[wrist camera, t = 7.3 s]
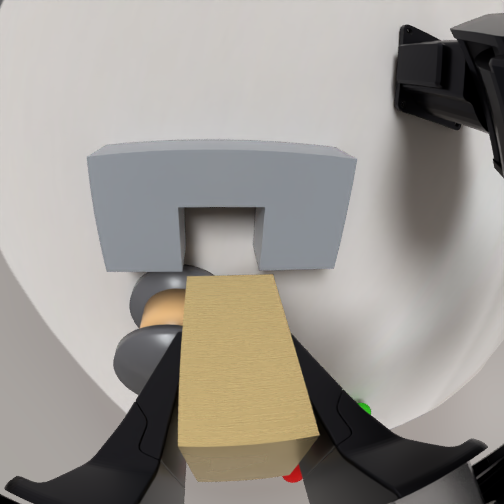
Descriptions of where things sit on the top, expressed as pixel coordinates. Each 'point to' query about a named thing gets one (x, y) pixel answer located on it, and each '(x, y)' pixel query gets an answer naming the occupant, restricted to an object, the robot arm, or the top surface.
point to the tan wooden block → (240, 382)
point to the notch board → (219, 199)
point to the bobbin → (152, 324)
